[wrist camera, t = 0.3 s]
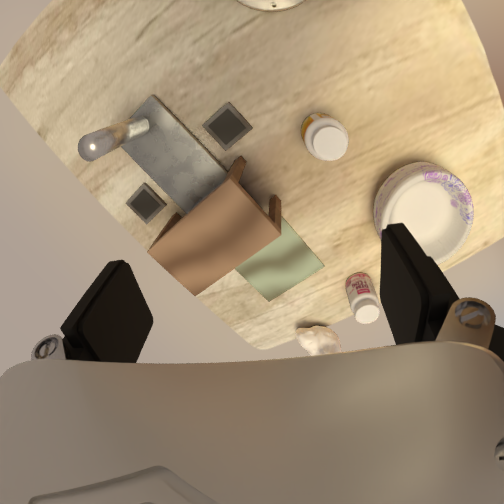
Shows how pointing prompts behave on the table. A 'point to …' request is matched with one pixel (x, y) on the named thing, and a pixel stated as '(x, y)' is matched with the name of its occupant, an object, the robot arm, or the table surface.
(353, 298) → the pill bottle
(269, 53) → the table surface
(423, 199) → the paper bowls
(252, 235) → the wooden table
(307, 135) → the supplement bottle
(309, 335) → the white lumpy bag
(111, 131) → the metal rod stand
